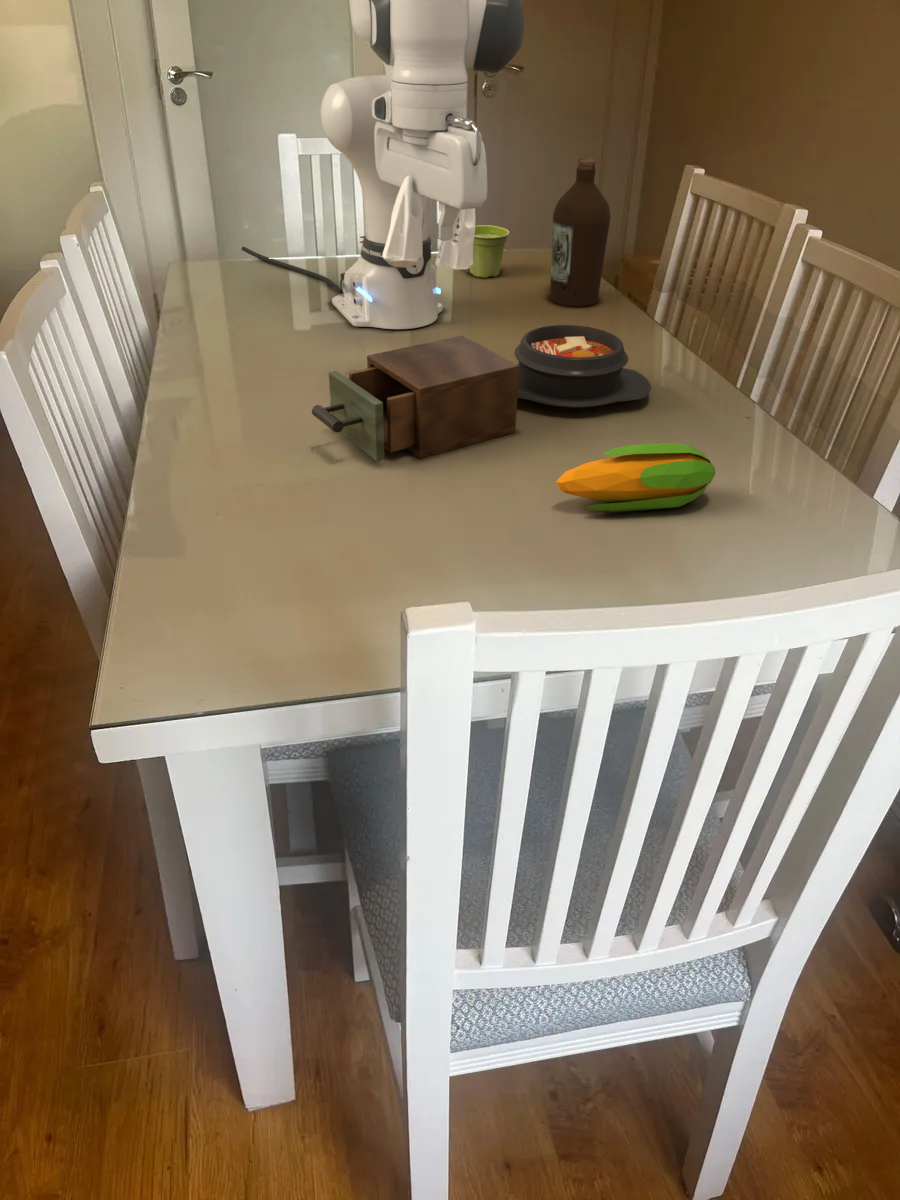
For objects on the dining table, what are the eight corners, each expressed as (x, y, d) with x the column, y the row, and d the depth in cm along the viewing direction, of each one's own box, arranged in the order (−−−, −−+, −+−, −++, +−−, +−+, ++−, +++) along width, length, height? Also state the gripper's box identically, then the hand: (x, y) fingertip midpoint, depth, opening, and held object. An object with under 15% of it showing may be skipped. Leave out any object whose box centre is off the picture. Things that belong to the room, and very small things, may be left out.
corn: (732, 453, 107) (569, 465, 103) (722, 512, 111) (564, 525, 107) (705, 430, 113) (550, 441, 110) (696, 487, 117) (546, 499, 114)
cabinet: (419, 458, 121) (419, 389, 116) (369, 421, 131) (366, 355, 125) (515, 432, 129) (519, 365, 123) (460, 399, 138) (462, 335, 132)
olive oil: (583, 289, 184) (596, 153, 170) (611, 304, 176) (628, 163, 162) (537, 295, 181) (546, 156, 166) (563, 311, 173) (576, 167, 158)
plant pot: (512, 270, 194) (514, 227, 189) (499, 282, 187) (502, 238, 182) (470, 265, 197) (471, 223, 192) (456, 277, 189) (457, 233, 184)
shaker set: (383, 274, 115) (380, 178, 108) (380, 265, 118) (378, 172, 112) (477, 271, 116) (480, 177, 110) (471, 262, 120) (474, 171, 113)
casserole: (486, 417, 133) (488, 361, 128) (485, 369, 148) (487, 317, 143) (658, 421, 132) (667, 365, 127) (640, 373, 147) (647, 322, 143)
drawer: (346, 469, 116) (343, 412, 112) (303, 433, 125) (298, 378, 120) (469, 436, 125) (471, 381, 120) (421, 404, 134) (421, 352, 129)
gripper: (503, 119, 101) (497, 249, 109) (408, 97, 115) (409, 213, 123) (456, 123, 98) (453, 256, 106) (364, 100, 112) (368, 219, 120)
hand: (429, 233), depth 115 cm, fingers closed on shaker set, 5 cm apart
